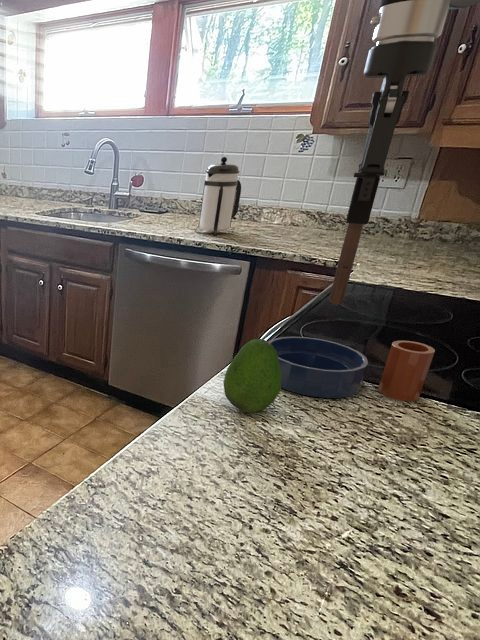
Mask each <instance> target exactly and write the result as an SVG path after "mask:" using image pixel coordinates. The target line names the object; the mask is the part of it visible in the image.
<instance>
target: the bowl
mask: <svg viewBox="0 0 480 640" xmlns="http://www.w3.org/2000/svg"><path fill="white" fill-rule="evenodd" d="M268 342H269V343H270V344H271V345H272V346H273V347H274V349H275V350H276V352H277V355H278V359H279V364H280V369H281V375H282V380H281V389H283V390H285V391H289V392H292V393H296V394H299V395H302V396H309V397H315V398H325V399H327V398H328V399H340V398H349V397H351V396H354V395H357V394H358V393H359V392H360V390H361V389H362V386H363V383H364V380H365V376H366V372H367V370H368V366H369V361H368V358H367V356H365V355H364V354H363V353H362V352H360V351H358V350H356V349H355V348H352V347H351V346H347V345H344V344H342V343H338V342H335V341H332V340H326V339H322V338H317V337H316V338H315V337H309V336H308V337H307V336H283V337H282V336H281V337H276V338H272V339H270V340H269V341H268Z"/></svg>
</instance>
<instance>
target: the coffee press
mask: <svg viewBox="0 0 480 640" xmlns="http://www.w3.org/2000/svg"><path fill="white" fill-rule="evenodd" d="M220 161H221V163H212V164H210V165H209V166H207V169H206V170H205V180H204V183H203V189H202V198H201V206H200V212H199V220H198V225H197V227H196V228H195V229H194V232H195V233H196V234H197V233H200V232H201V231H205V232H212V236H213V237H217V234H218V232H228V231H229V229H230V230H231V232H229V234H230V235H232V234H233V232H234V231H233V229H232V220H233V218H235V217H236V215H237V214H238V210H239V207H240V206H239V205H240V200H241V193H242V182H241V181H240V180H239V179H238V178H239V174H240V169H239V167H238V166H237V165H236V164H234V163H227V161H228V158H227V156H223V157H221V159H220ZM198 228H199V230H197V229H198ZM196 230H197V231H196Z"/></svg>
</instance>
